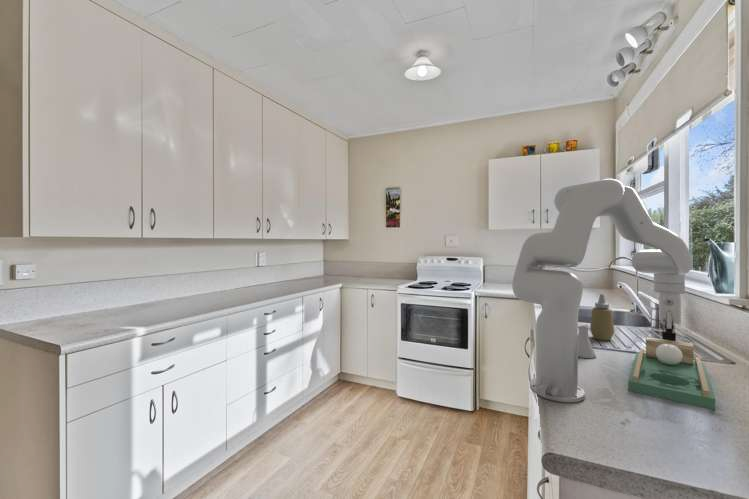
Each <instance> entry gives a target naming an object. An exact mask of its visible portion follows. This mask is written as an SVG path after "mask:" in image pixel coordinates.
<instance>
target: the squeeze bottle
mask: <svg viewBox="0 0 749 499" xmlns="http://www.w3.org/2000/svg"><path fill="white" fill-rule="evenodd" d="M589 326H590V327H589V330H590V332H591V335H592V337H593V339H595V340H598V341H603V342H604V341H611V340H612V339H613V336H614V334H615V328H614V327H615V325H614V317H613V311H612V309H610V304H609V303H607V301H606V298H605V294H604V293H599V297H598V302H594V307H593V308H592V309H591V318H590V325H589Z"/></svg>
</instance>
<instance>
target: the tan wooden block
mask: <svg viewBox="0 0 749 499" xmlns="http://www.w3.org/2000/svg"><path fill="white" fill-rule="evenodd" d="M662 344H671V345H674V346H676V347H677V348H679V349H680V351H681V352H682V355H683V358H682V361H681V362H682V363H688V364H693V361H694V344H693V343H692V342H691V343H690V342H684V341H678V340H676V341H671V340H663V338H662V339H661V338H653V337H647V336H646V337H645V354H646V357H652V358H657V356H656V349H657V347H658V346H660V345H662Z"/></svg>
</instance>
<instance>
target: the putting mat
mask: <svg viewBox="0 0 749 499" xmlns="http://www.w3.org/2000/svg"><path fill="white" fill-rule="evenodd" d="M694 357H695V358H694V360H695V361H694V360H693V364H688V363H682V362H680V363H678V364H676V365H667V364H664V363H662V362H661V361H660V360H659V359H658V358H652V357H646V352H645V348H641V347H640V348H639V350H638V352H637V351H636V352H635V355H634V359H633V363H632V366H631V370H630V373H629V377H628V384H627V390H628V391H630V392H634V393H639V394H643V395H648V396H652V397H658V398H661V399H665V400H671V401H674V402H679V403H683V404H687V405H692V406H696V407H701V408H706V409H710V410H715V411H716V397H715V393H714V390H713V386H712V384H711V380H710V376H709V373H708V370H707V367H706V363H705V362H702V360H701V357H699V356H694Z"/></svg>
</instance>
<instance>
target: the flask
mask: <svg viewBox="0 0 749 499" xmlns="http://www.w3.org/2000/svg"><path fill="white" fill-rule="evenodd" d="M589 330H590V327H589V326H587V325H578V358H583V359H584V358H585V359H595V358H597V355H596V353H595V351H594V348H593V345H592V342H591V340H590V337H589V335H590V334H589Z"/></svg>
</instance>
